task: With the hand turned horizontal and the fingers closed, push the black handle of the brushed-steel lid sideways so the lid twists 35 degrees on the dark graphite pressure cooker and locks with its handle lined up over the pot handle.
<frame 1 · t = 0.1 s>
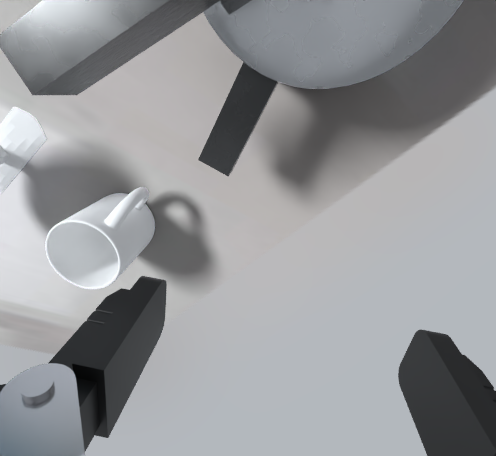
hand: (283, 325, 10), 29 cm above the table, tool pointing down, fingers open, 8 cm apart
mug: (135, 210, 42), on the table
heart sculpture: (8, 153, 40), on the table
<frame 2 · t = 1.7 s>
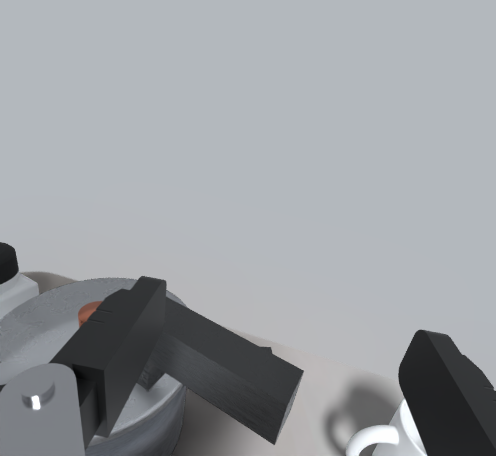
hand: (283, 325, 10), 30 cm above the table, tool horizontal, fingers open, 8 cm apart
cooker pot: (103, 417, 35), on the table
cooker lid: (133, 335, 27), point 16 cm above the table, hinge at -35.0°
container: (0, 330, 44), on the table
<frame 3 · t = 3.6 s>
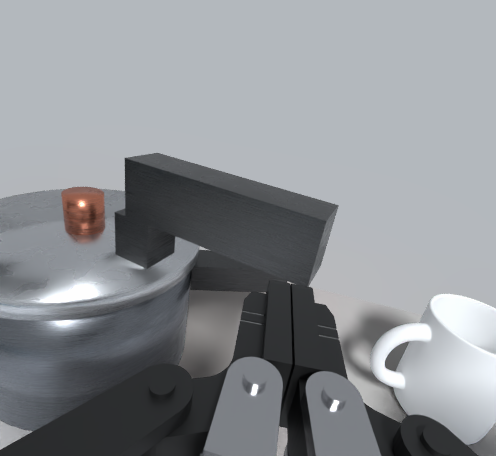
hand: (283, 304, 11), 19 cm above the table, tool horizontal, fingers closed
cooker pot: (93, 340, 31), on the table
cooker lid: (128, 211, 23), point 16 cm above the table, hinge at -35.0°
mug: (414, 402, 31), on the table
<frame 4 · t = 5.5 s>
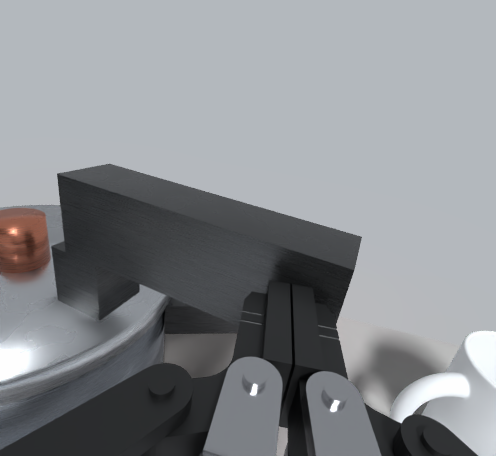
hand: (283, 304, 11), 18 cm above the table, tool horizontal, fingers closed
cooker pot: (46, 394, 25), on the table
cooker lid: (74, 241, 17), point 16 cm above the table, hinge at -33.0°, touching gripper
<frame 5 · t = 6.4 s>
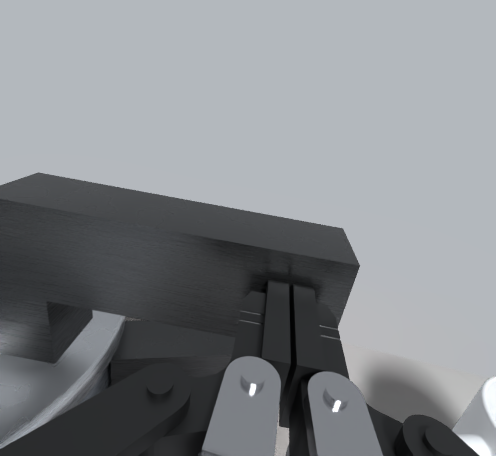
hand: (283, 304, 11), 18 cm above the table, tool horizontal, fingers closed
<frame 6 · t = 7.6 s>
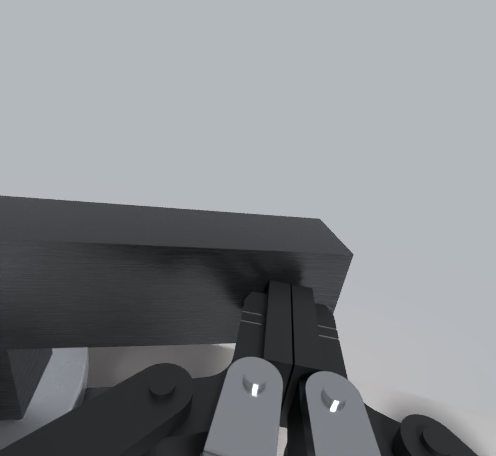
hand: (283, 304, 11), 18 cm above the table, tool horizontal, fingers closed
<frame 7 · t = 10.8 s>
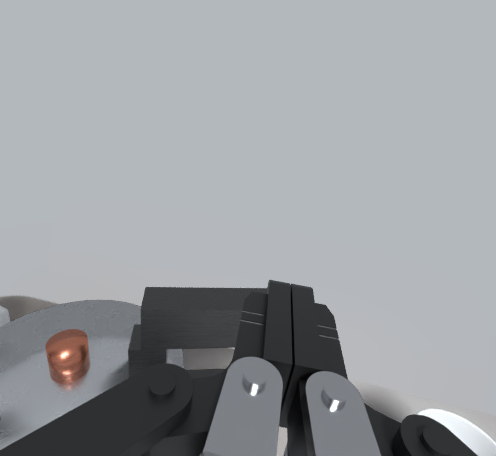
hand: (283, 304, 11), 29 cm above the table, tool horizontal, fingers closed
cooker lid: (128, 340, 26), point 16 cm above the table, hinge at 0.6°
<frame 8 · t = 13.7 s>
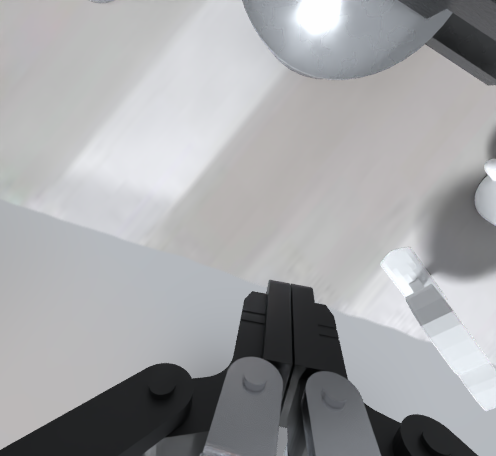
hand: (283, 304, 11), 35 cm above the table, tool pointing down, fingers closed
heart sculpture: (413, 281, 49), on the table
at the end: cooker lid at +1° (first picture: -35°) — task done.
